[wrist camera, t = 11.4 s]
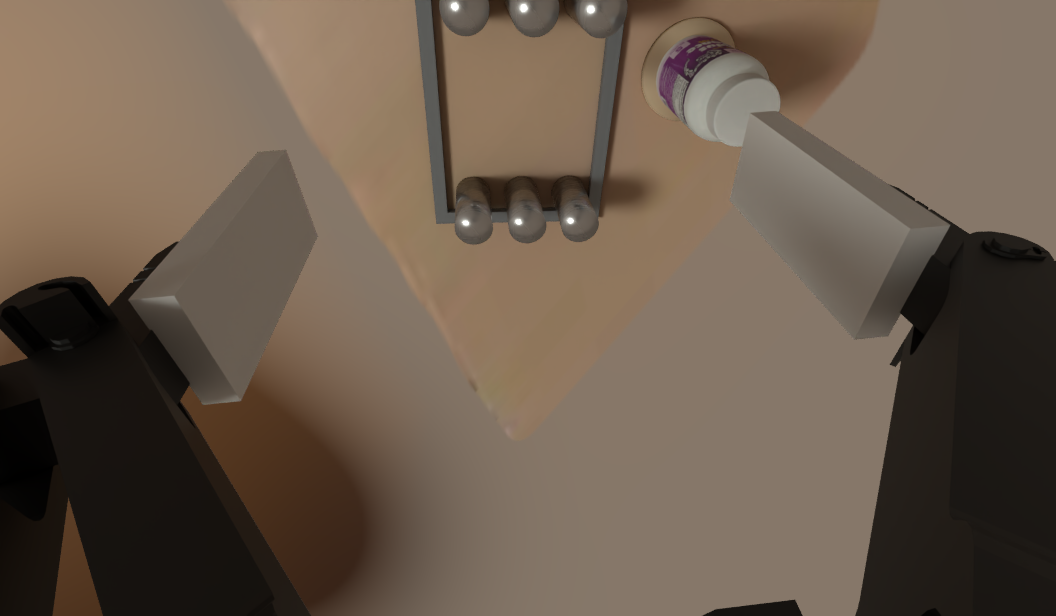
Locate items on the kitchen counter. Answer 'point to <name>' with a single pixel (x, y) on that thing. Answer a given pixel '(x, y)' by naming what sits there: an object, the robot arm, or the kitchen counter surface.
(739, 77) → the pill bottle
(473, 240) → the spacers
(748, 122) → the robot arm
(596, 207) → the parts tray rim
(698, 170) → the kitchen counter surface
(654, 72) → the cork coaster
